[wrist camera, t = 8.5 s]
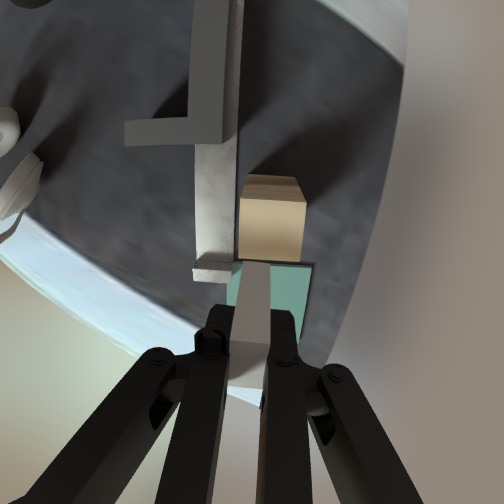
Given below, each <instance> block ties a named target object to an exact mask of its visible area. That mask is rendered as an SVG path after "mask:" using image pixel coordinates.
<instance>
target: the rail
mask: <svg viewBox="0 0 504 504" xmlns="http://www.w3.org/2000/svg"><path fill="white" fill-rule="evenodd" d="M243 14H244V0H237V12H236V27H235V44H234V61H233V81H232V102H231V126H230V140H228V141H227V142H225V143H223V144H222V145H219V144H195V216H196V251H197V261H196V263H195V265H194V267H193V280H194V281H202V282H216V283H230V284H231V282H232V277H233V264H232V263H233V261H234V219H235V185H236V156H237V130H238V107H239V86H240V66H241V48H242V30H243ZM227 262H228V263H227ZM229 262H230V263H229ZM231 262H232V263H231Z"/></svg>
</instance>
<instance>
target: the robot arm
mask: <svg viewBox="0 0 504 504" xmlns="http://www.w3.org/2000/svg"><path fill="white" fill-rule="evenodd" d="M10 1H11V2H12V3H13V4H14V5H16V6H19V7H23V8H27V9H33V8H37V7H40V6H43V5H45V4H47V3H49V2H50V1H52V0H10ZM194 341H195V351H193V352H191V353H189V354H184V355H174V354H173V353H172V352H171V351H170V350H168V349H167V348H162V347H154V348H151V349H148V350H147V351H146V352H144V353H143V354H142V356H141V357H140V358H139V359H138V360H137V361H136V363H135V364H134V365H133V366H132V367H131V369H130V370H129V371H128V372H127V373H126V374H125V375H124V377H123V378H122V379H121V380H120V381H119V382H118V384H117V385H116V386H115V387H114V388H113V389H112V391H111V392H110V393H109V394H108V395H107V397H106V398H105V399H104V400H103V402H102V403H101V404H100V405H99V406H98V407H97V409H96V410H95V411H94V412H93V413H92V414H91V416H90V417H89V418H88V419H87V420H86V421H85V423H84V424H83V425H82V426H81V428H80V429H79V430H78V431H77V432H76V433H75V435H74V436H73V437H72V438H71V439H70V441H69V442H68V443H67V444H66V446H65V447H64V448H63V449H62V450H61V452H60V453H59V454H58V455H57V457H56V458H55V459H54V460H53V461H52V463H51V464H50V465H49V466H48V468H47V469H46V470H45V471H44V472H43V474H42V475H41V476H40V477H39V478H38V480H37V481H36V482H35V483H34V485H33V486H32V487H31V488H30V490H29V491H28V492H27V494H26V495H25V496H23V497H21V498H19V499H17V500H15V501H13V502H11V503H8V504H115V502H116V501H117V499H118V498H119V496H120V495H121V493H122V491H123V490H124V489H125V487H126V486H127V484H128V483H129V481H130V479H131V478H132V476H133V475H134V473H135V472H136V470H137V469H138V467H139V466H140V464H141V462H142V461H143V460H144V458H145V456H146V455H147V453H148V452H149V450H150V449H151V447H152V446H153V444H154V442H155V441H156V439H157V438H158V436H159V435H160V433H161V431H162V430H163V428H164V427H165V425H166V423H167V422H168V420H169V419H170V417H171V416H172V414H173V413H174V411H175V409H176V408H177V406H178V405H179V402H181V403H180V406H179V410H178V414H177V417H176V421H175V425H174V429H173V432H172V436H171V440H170V444H169V448H168V452H167V455H166V459H165V463H164V467H163V471H162V475H161V479H160V483H159V487H158V491H157V495H156V499H155V503H154V504H211V502H212V496H213V488H214V481H215V474H216V467H217V460H218V453H219V445H220V438H221V432H222V424H223V418H224V410H225V404H226V397H227V386H235V387H245V388H256V389H262V388H263V392H262V397H261V402H260V408H259V409H261V413H260V414H261V415H260V435H259V453H258V472H257V488H256V504H313V501H312V480H311V463H310V448H309V435H308V421H309V424H310V427H311V429H312V432H313V434H314V437H315V439H316V442H317V444H318V447H319V450H320V452H321V455H322V457H323V460H324V463H325V465H326V467H327V470H328V473H329V475H330V478H331V480H332V483H333V486H334V488H335V490H336V493H337V496H338V498H339V501H340V503H341V504H423V502H422V500H421V498H420V496H419V494H418V492H417V490H416V488H415V486H414V484H413V482H412V481H411V479H410V477H409V475H408V473H407V471H406V469H405V468H404V466H403V464H402V462H401V460H400V458H399V456H398V454H397V453H396V451H395V449H394V447H393V445H392V443H391V442H390V440H389V438H388V436H387V434H386V432H385V431H384V429H383V427H382V425H381V423H380V422H379V420H378V418H377V416H376V414H375V413H374V411H373V409H372V407H371V406H370V404H369V402H368V400H367V398H366V397H365V395H364V393H363V392H362V390H361V388H360V386H359V384H358V383H357V381H356V379H355V377H354V376H353V374H352V372H351V371H350V370H349V369H348V368H346V367H345V366H343V365H340V364H328V365H325V366H324V367H323V368H322V369H319V368H316V367H312V366H310V365H308V364H306V363H304V362H303V361H302V360H301V357H300V356H299V355H298V349H297V338H296V329H295V319H294V316H293V315H292V313H291V312H290V311H289V310H279V309H270V263H261V262H251V261H243V266H242V271H241V277H240V283H239V289H238V294H237V300H236V306H231V305H222V304H215V305H214V306H213V307H212V308H211V309H210V312H209V315H208V319H207V322H206V325H205V328H202V329H200V330H199V331H197V332H196V334H195V335H194ZM307 419H308V421H307Z"/></svg>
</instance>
